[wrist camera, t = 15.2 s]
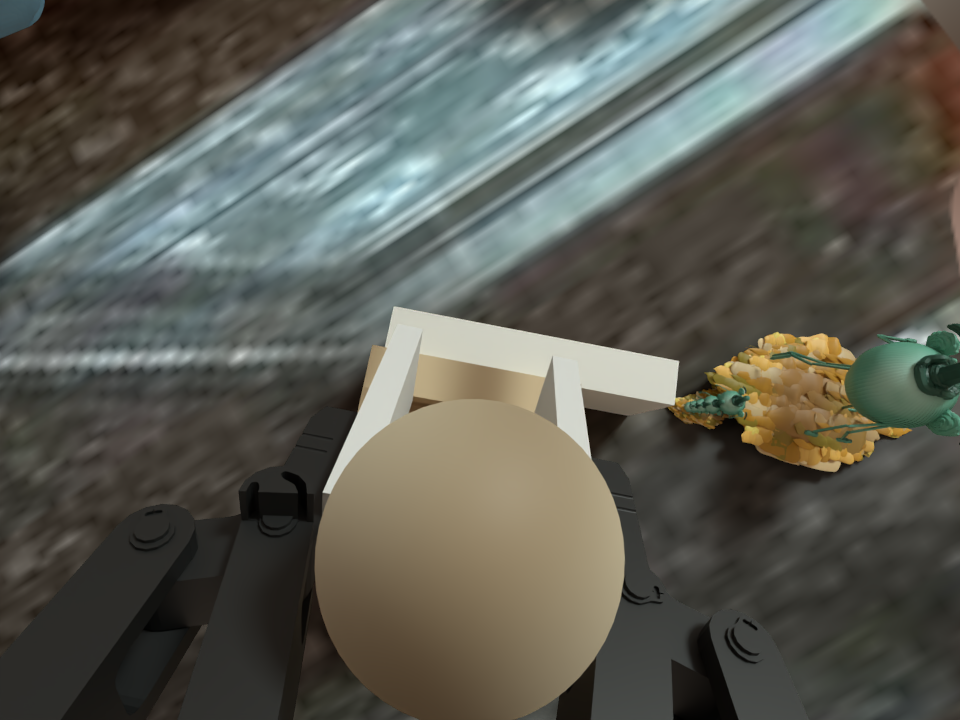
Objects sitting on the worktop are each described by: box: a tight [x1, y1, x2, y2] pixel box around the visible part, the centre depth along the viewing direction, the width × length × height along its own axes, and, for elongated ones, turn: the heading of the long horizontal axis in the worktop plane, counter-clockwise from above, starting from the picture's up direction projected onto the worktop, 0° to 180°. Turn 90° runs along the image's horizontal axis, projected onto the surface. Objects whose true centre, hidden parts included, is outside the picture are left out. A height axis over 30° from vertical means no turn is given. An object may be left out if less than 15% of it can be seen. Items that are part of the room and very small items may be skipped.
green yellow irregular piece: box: [668, 324, 960, 472], centre depth 30 cm, size 10×18×15 cm, turn 80°
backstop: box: [385, 307, 679, 416], centre depth 31 cm, size 16×2×7 cm, turn 80°
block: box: [357, 345, 545, 413], centre depth 29 cm, size 11×11×8 cm
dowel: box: [315, 399, 625, 720], centre depth 13 cm, size 4×4×14 cm
